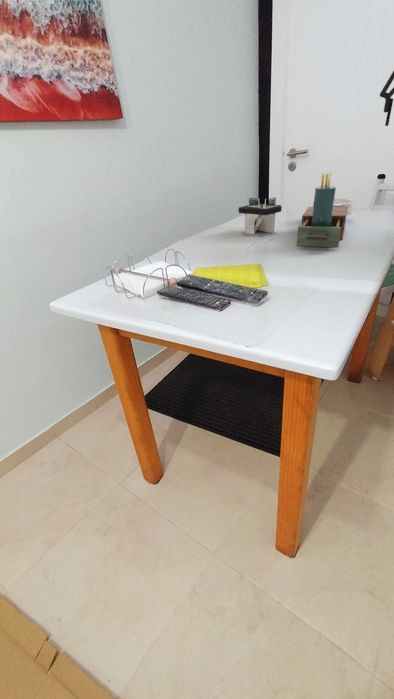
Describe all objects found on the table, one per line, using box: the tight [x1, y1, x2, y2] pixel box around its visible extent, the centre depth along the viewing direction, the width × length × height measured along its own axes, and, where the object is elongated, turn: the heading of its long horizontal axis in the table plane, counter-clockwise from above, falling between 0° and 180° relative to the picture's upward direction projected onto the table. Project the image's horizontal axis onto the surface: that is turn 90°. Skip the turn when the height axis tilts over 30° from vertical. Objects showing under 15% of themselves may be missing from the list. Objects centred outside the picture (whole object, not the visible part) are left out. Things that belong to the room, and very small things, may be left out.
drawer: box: [296, 218, 341, 248], centre depth 109 cm, size 19×13×6 cm
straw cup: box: [311, 172, 337, 227], centre depth 106 cm, size 6×6×19 cm
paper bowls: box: [312, 197, 355, 217], centre depth 135 cm, size 15×15×8 cm
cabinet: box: [300, 206, 348, 241], centre depth 120 cm, size 16×14×8 cm
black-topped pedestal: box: [238, 196, 283, 235], centre depth 126 cm, size 28×26×13 cm
